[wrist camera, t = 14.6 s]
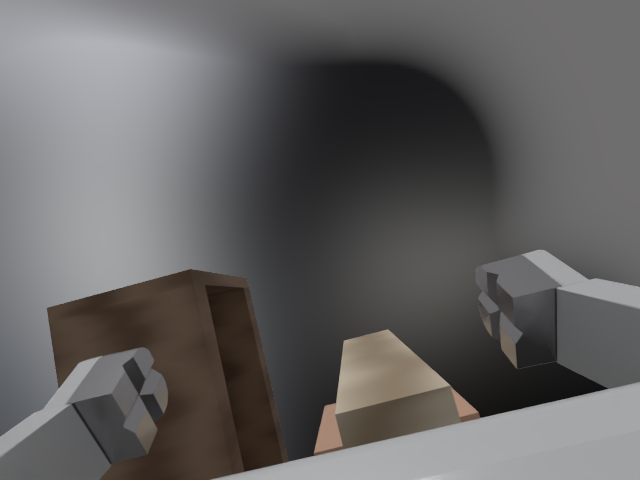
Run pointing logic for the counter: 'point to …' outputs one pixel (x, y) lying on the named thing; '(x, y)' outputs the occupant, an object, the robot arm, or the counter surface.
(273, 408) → the wooden open box
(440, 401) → the bar
